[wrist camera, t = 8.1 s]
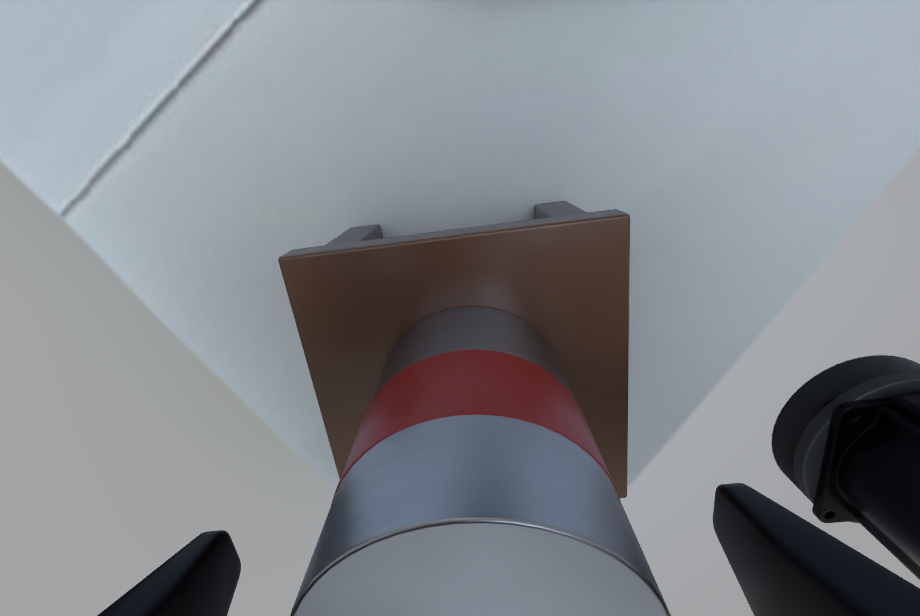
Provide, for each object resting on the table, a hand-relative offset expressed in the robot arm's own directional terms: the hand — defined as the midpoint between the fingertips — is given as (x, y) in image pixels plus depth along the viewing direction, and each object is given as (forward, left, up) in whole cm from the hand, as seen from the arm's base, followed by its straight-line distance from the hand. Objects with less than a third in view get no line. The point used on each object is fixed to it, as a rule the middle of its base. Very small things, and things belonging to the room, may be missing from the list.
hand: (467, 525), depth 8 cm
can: (0, 0, -5) cm, 5 cm away
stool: (0, 0, -11) cm, 11 cm away
